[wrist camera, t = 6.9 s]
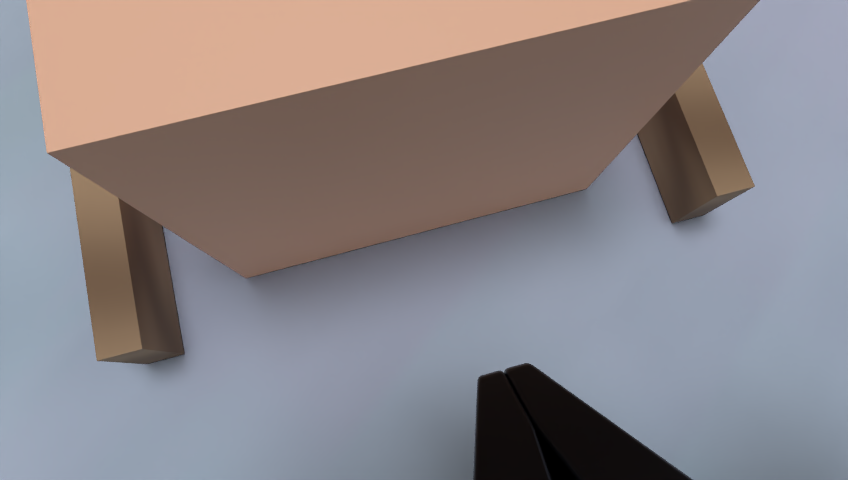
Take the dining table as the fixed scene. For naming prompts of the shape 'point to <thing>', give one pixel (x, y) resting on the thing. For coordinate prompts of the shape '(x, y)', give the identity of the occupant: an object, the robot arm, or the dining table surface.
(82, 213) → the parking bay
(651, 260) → the dining table surface
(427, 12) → the t block
